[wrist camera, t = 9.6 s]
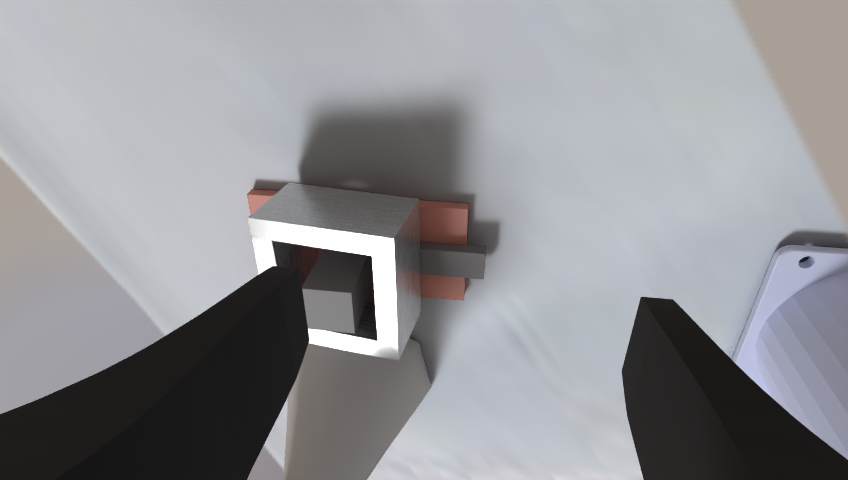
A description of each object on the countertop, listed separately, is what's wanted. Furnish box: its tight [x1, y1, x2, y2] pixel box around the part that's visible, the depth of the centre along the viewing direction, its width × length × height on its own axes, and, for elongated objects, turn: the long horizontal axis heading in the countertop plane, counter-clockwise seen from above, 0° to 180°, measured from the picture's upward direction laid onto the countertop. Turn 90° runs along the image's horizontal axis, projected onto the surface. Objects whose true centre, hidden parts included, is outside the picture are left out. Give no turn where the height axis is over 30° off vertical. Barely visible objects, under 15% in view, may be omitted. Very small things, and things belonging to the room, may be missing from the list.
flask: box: [282, 338, 431, 480], centre depth 23 cm, size 7×7×10 cm
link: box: [248, 183, 421, 361], centre depth 21 cm, size 5×5×3 cm
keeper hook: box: [247, 189, 486, 334], centre depth 21 cm, size 10×4×5 cm, turn 90°
